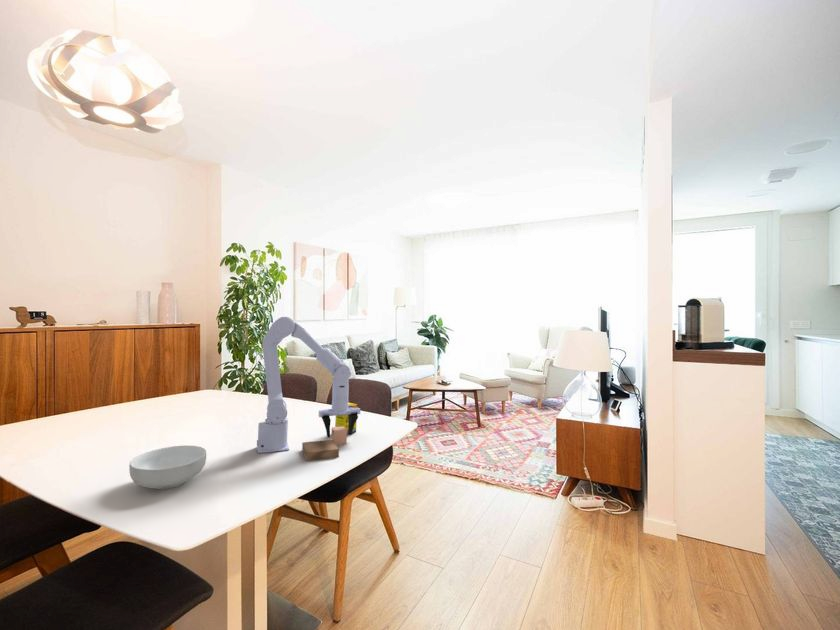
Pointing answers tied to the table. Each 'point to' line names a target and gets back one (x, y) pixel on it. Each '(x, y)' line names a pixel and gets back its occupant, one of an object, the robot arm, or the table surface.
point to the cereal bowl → (167, 466)
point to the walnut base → (320, 449)
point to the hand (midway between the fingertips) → (339, 435)
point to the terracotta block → (339, 435)
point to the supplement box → (345, 419)
